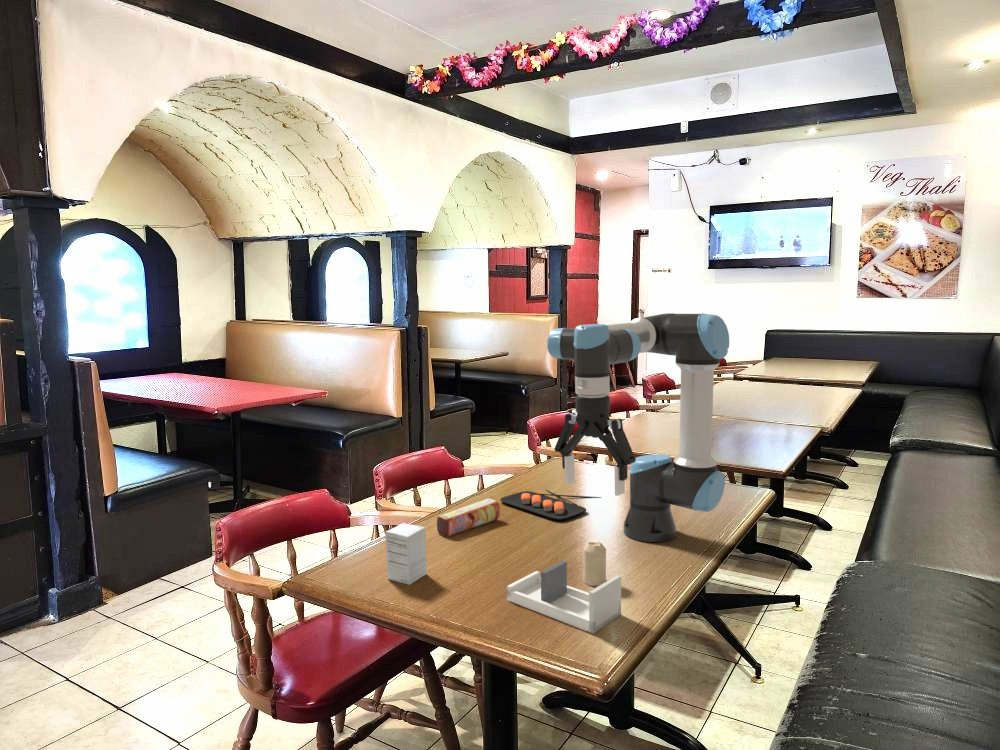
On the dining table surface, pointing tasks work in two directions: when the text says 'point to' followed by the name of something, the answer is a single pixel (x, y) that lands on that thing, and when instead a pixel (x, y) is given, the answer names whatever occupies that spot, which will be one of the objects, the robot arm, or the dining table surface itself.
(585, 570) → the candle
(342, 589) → the dining table surface
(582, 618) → the pusher lane
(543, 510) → the sushi plate
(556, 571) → the plate
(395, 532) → the supplement box
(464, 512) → the snack package
